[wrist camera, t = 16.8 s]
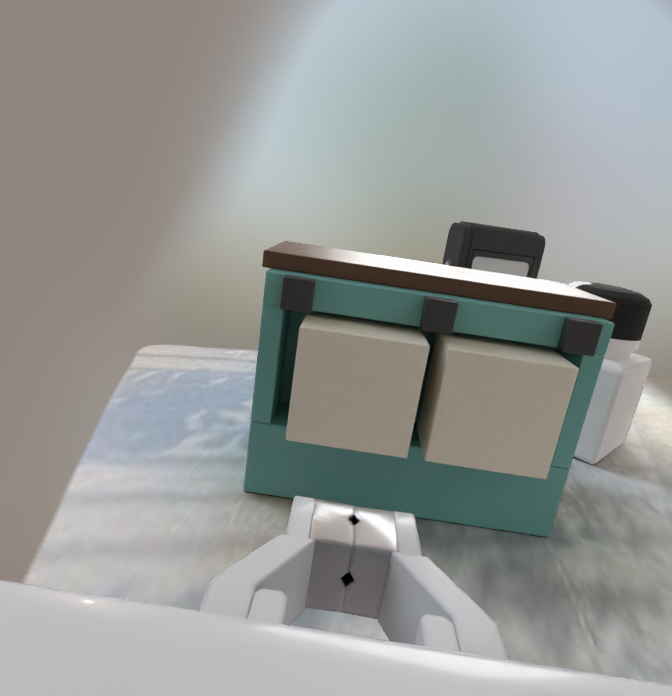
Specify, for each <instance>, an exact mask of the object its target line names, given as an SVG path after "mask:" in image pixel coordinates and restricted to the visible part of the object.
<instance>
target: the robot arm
mask: <svg viewBox="0 0 672 696" xmlns="http://www.w3.org/2000/svg"><path fill="white" fill-rule="evenodd" d="M314 503H315V505H314ZM313 509H314V511H313ZM312 516H313V517H312ZM311 523H312V524H311ZM305 608H311V609H318V610H326V611H334V612H342V613H347V614H352V615H358V616H363V617H369V618H374V619H378V622H379V624H380V626H381V627H382V629H383V630H384V632H385V634H386V635H387V637H388V638H389V640H390V641H387V640H380V639H374V638H368V637H361V636H355V635H349V634H342V633H336V632H329V631H323V630H317V629H310V628H304V627H298V626H291V624H292V623H293V622H294V621H295V620H296V619H297V618H298V617H299V616H300V614H301V613H302V612H303V611H304V610H305ZM0 696H672V685H667V684H661V683H655V682H648V681H642V680H636V679H629V678H623V677H617V676H610V675H604V674H598V673H591V672H585V671H578V670H572V669H566V668H559V667H553V666H546V665H540V664H534V663H527V662H521V661H515V660H509V657H508V654H507V651H506V648H505V645H504V642H503V639H502V636H501V633H500V630H499V627H498V624H497V623H496V622H495V621H494V620H493V619H492V618H491V617H490V616H489V615H488V614H487V613H486V612H484V611H483V610H482V609H481V608H480V607H479V606H478V605H477V604H476V603H475V602H474V601H473V600H472V599H471V598H470V597H469V596H468V595H467V594H466V593H465V592H464V591H463V590H462V589H461V588H460V587H459V586H457V585H456V584H455V583H454V582H453V581H452V580H451V579H450V578H449V577H448V576H447V575H446V574H445V573H444V572H443V571H442V570H441V569H440V568H439V567H438V566H437V565H436V564H435V563H434V562H433V561H431V560H430V559H429V558H428V557H425V556H422V552H421V547H420V542H419V536H418V531H417V526H416V520H415V515H414V514H413V513H405V512H396V511H387V510H379V509H372V508H364V507H356V506H354V505H348V504H343V503H337V502H331V501H326V500H320V499H314V498H309V497H302V496H295V497H294V500H293V504H292V509H291V513H290V517H289V522H288V526H287V531H286V535H284V534H279V535H278V536H276V537H275V538H273V539H272V540H270V541H268V542H267V543H265V544H264V545H262V546H261V547H259V548H258V549H256V550H255V551H253V552H252V553H250V554H249V555H247V556H246V557H244V558H242V559H241V560H239V561H238V562H236V563H235V564H233V565H232V566H230V567H229V568H227V569H226V570H224V571H223V572H221V573H220V574H218V575H217V576H215V577H213V578H212V579H211V581H210V584H209V586H208V589H207V591H206V594H205V596H204V598H203V601H202V603H201V606H200V608H199V611H196V610H189V609H183V608H176V607H170V606H164V605H157V604H151V603H145V602H138V601H132V600H125V599H119V598H113V597H106V596H100V595H94V594H87V593H81V592H74V591H68V590H62V589H55V588H49V587H43V586H36V585H30V584H23V583H17V582H11V581H4V580H0Z"/></svg>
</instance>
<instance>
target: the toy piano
mask: <svg viewBox="0 0 672 696" xmlns="http://www.w3.org/2000/svg"><path fill="white" fill-rule="evenodd" d="M262 266H263V267H267V268H271V269H269V270H268V271H267V272H266V279H265V288H264V298H263V308H262V318H261V327H260V337H259V347H258V356H257V366H256V375H255V385H254V394H253V404H252V414H251V424H250V433H249V443H248V453H247V462H246V472H245V481H244V491H247V492H254V493H260V494H267V495H273V496H280V497H287V498H293V499H294V497H295V496H302V497H309V498H314V499H320V500H326V501H331V502H337V503H343V504H348V505H354V506H356V507H364V508H372V509H379V510H387V511H396V512H405V513H413V514H414V515H415V517H418V518H425V519H431V520H438V521H445V522H451V523H458V524H464V525H471V526H477V527H484V528H491V529H497V530H504V531H510V532H517V533H524V534H530V535H537V536H543V537H549V534H550V531H551V527H552V524H553V521H554V518H555V515H556V511H557V508H558V505H559V502H560V498H561V495H562V492H563V489H564V485H565V482H566V479H567V476H568V472H569V469H570V466H571V463H572V460H573V456H574V453H575V450H576V447H577V444H578V440H579V437H580V434H581V431H582V427H583V424H584V421H585V418H586V414H587V411H588V408H589V405H590V402H591V398H592V395H593V392H594V389H595V385H596V382H597V379H598V376H599V372H600V369H601V366H602V363H603V359H604V354H606V351H607V348H608V344H609V341H610V338H611V335H612V331H613V328H614V325H615V324H614V323H612V322H610V321H608V320H606V319H612V317H613V313H614V310H615V307H616V303H615V302H612V301H609V300H607V299H604V298H601V297H598V296H596V295H593V294H590V293H588V292H585V291H582V290H579V289H577V288H574V287H571V286H569V285H566V284H563V283H561V282H555V281H548V280H542V279H535V278H528V277H522V276H515V275H508V274H502V273H495V272H488V271H482V270H475V269H468V268H462V267H455V266H448V265H442V264H435V263H428V262H421V261H415V260H408V259H402V258H395V257H388V256H382V255H375V254H368V253H362V252H355V251H348V250H342V249H335V248H329V247H322V246H315V245H309V244H302V243H295V242H288V241H284V242H282V243H280V244H278V245H275V246H273V247H271V248H269V249H266V250H265V251H264V254H263V264H262ZM311 311H316V312H323V313H330V314H336V315H343V316H350V317H356V318H363V319H369V320H376V321H383V322H389V323H396V324H403V325H409V326H416V327H420V328H421V330H422V332H423V334H424V336H425V338H426V340H427V342H428V344H429V346H430V348H429V353H428V358H427V363H426V368H425V373H424V378H423V383H422V387H421V392H420V397H419V402H418V407H417V412H416V417H415V422H414V426H413V431H412V436H411V441H410V446H409V451H408V456H407V458H401V457H394V456H387V455H381V454H374V453H368V452H361V451H354V450H348V449H341V448H335V447H328V446H321V445H315V444H308V443H302V442H295V441H288V440H286V431H287V423H288V415H289V407H290V399H291V392H292V384H293V376H294V368H295V360H296V352H297V344H298V336H299V329H300V326H301V324H302V322H303V320H304V318H305V316H306V314H307V313H308V314H309V313H310V312H311ZM603 318H606V319H603ZM452 332H456V333H462V334H469V335H476V336H482V337H489V338H496V339H502V340H509V341H516V342H522V343H529V344H535V345H542V346H548V347H550V348H551V349H553V350H554V351H555V352H557V353H558V354H560V355H561V356H562V357H564V358H565V359H566V360H568V361H569V362H571V363H572V364H573V365H575V366H576V367H577V368H579V371H578V374H577V378H576V381H575V384H574V388H573V391H572V394H571V398H570V401H569V405H568V408H567V411H566V415H565V418H564V421H563V425H562V428H561V432H560V435H559V438H558V442H557V445H556V448H555V452H554V455H553V458H552V462H551V465H550V469H549V472H548V475H547V479H539V478H533V477H526V476H519V475H513V474H506V473H500V472H493V471H486V470H480V469H473V468H467V467H460V466H454V465H447V464H440V463H434V462H427V461H425V459H424V455H423V451H422V447H421V443H420V440H419V436H418V432H417V423H418V418H419V413H420V409H421V404H422V399H423V394H424V389H425V384H426V380H427V375H428V370H429V365H430V360H431V355H432V351H433V346H434V341H435V336H436V333H440V334H447V335H452Z"/></svg>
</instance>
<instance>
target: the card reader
mask: <svg viewBox="0 0 672 696" xmlns="http://www.w3.org/2000/svg"><path fill="white" fill-rule="evenodd" d="M544 248H545V238H544V237H543V236H541V235H539V234H538V233H536V232H530V231H523V230H517V229H510V228H503V227H497V226H490V225H483V224H477V223H470V222H460V223H453V224H452V226H451V228H450V230H449V234H448V239H447V244H446V249H445V253H444V258H443V264H442V265H448V266H455V267H462V268H468V269H475V270H482V271H488V272H495V273H502V274H508V275H515V276H522V277H528V278H535V279H537V275H538V271H539V268H540V264H541V260H542V256H543V252H544Z"/></svg>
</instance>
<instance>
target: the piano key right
mask: <svg viewBox="0 0 672 696" xmlns="http://www.w3.org/2000/svg"><path fill="white" fill-rule="evenodd" d="M578 371H579V368H577V367H576V366H575V365H573V364H572V363H571V362H569V361H568V360H566V359H565V358H564V357H562V356H561V355H560V354H558V353H557V352H555V351H554V350H553V349H551V348H550V347H548V346H542V345H535V344H529V343H522V342H516V341H509V340H502V339H496V338H489V337H482V336H476V335H469V334H462V333H456V332H452V335H447V334H440V333H436V336H435V341H434V346H433V351H432V355H431V360H430V365H429V370H428V375H427V380H426V384H425V389H424V394H423V399H422V404H421V409H420V413H419V418H418V423H417V432H418V436H419V440H420V443H421V447H422V451H423V455H424V459H425V461H427V462H434V463H440V464H447V465H454V466H460V467H467V468H473V469H480V470H486V471H493V472H500V473H506V474H513V475H519V476H526V477H533V478H539V479H547V475H548V472H549V469H550V465H551V462H552V458H553V455H554V452H555V448H556V445H557V442H558V438H559V435H560V432H561V428H562V425H563V421H564V418H565V415H566V411H567V408H568V405H569V401H570V398H571V394H572V391H573V388H574V384H575V381H576V378H577V374H578Z"/></svg>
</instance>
